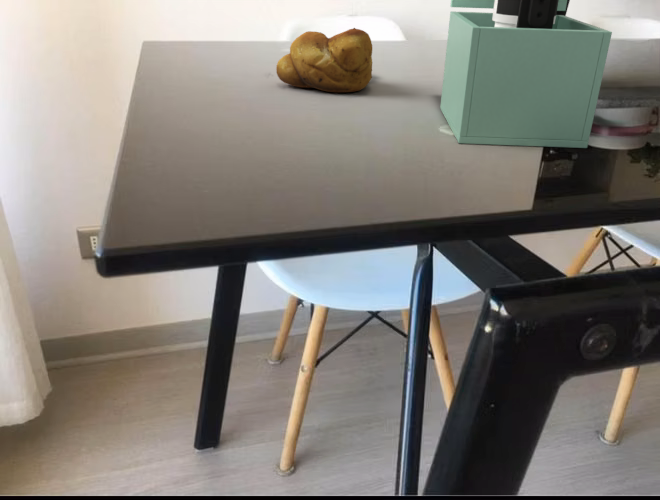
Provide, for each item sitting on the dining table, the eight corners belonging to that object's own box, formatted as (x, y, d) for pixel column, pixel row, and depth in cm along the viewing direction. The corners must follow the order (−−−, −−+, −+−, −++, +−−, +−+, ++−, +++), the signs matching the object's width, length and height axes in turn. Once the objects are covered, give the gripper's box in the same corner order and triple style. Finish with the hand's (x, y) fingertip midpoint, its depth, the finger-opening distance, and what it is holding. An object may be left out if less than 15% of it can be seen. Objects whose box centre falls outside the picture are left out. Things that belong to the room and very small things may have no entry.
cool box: (587, 148, 61) (612, 31, 56) (458, 143, 61) (472, 27, 56) (546, 112, 74) (563, 15, 69) (440, 108, 74) (450, 11, 69)
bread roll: (266, 89, 80) (265, 23, 77) (292, 76, 89) (293, 16, 85) (363, 99, 77) (367, 30, 74) (381, 84, 85) (385, 22, 82)
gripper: (638, -202, 47) (589, 42, 55) (567, -166, 63) (537, 20, 71) (537, -204, 47) (503, 39, 55) (492, -168, 63) (470, 18, 71)
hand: (522, 27), depth 63 cm, fingers closed on medicine bottle, 7 cm apart
